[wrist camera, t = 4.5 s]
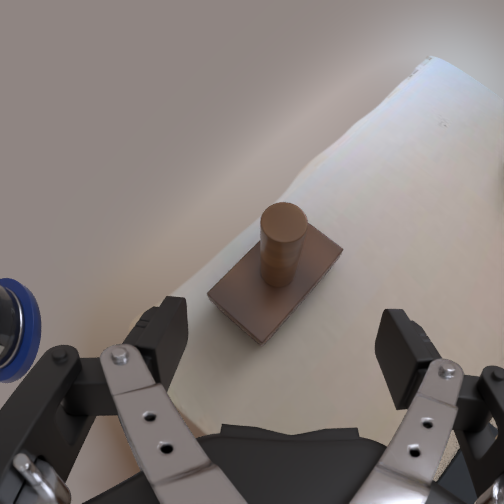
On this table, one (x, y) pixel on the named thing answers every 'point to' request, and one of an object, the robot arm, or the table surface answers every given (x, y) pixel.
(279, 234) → the brown block with cylinder
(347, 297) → the table surface
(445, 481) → the mat
